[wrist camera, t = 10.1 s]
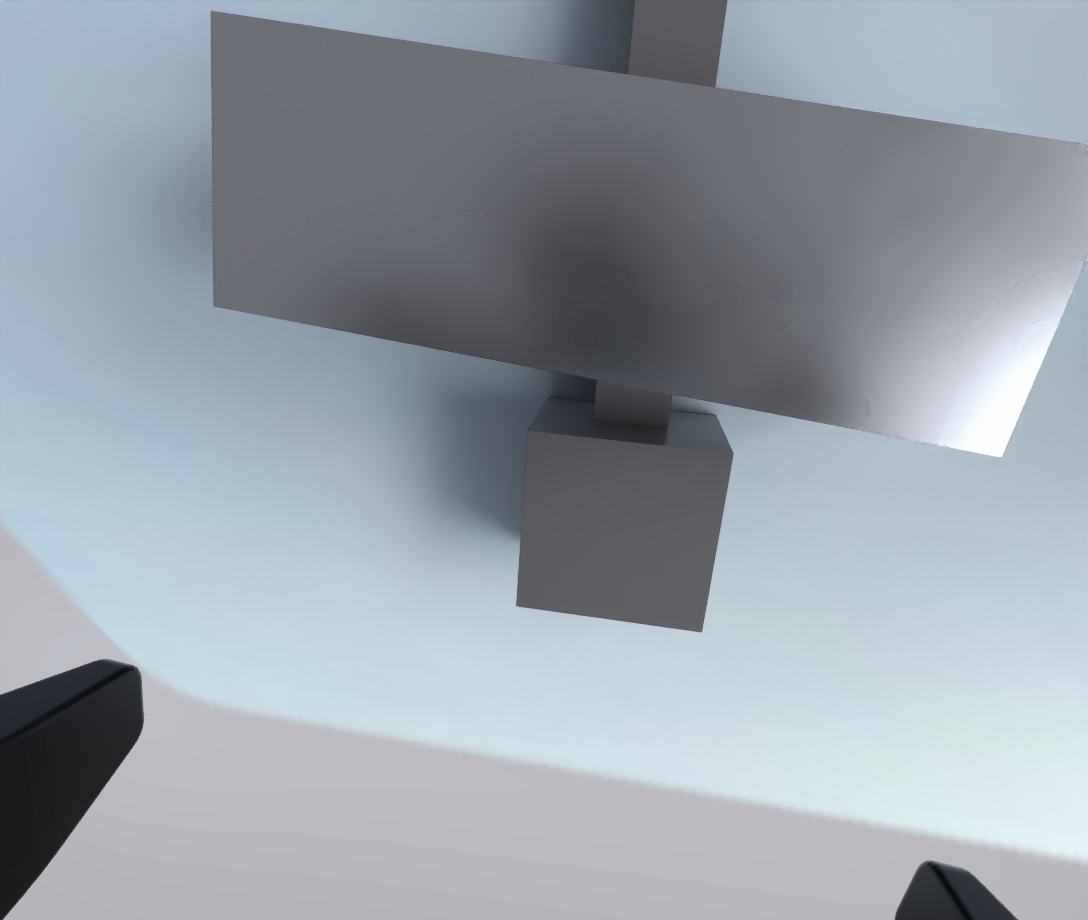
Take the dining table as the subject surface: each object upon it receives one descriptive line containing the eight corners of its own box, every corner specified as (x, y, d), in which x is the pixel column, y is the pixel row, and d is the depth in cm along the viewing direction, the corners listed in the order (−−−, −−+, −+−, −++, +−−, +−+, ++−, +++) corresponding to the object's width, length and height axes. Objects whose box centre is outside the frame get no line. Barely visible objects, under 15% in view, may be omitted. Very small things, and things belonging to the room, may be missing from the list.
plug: (837, -325, 11) (907, -527, 8) (690, 566, 16) (701, 632, 13) (602, -321, 11) (590, -510, 8) (537, 545, 17) (516, 606, 14)
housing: (935, 190, 13) (1133, 151, 8) (869, 381, 14) (1000, 457, 9) (370, 99, 14) (210, 10, 9) (358, 287, 15) (213, 306, 10)
